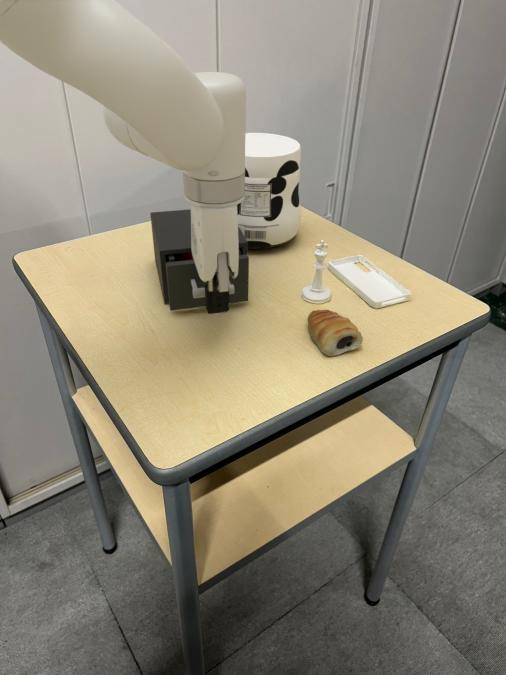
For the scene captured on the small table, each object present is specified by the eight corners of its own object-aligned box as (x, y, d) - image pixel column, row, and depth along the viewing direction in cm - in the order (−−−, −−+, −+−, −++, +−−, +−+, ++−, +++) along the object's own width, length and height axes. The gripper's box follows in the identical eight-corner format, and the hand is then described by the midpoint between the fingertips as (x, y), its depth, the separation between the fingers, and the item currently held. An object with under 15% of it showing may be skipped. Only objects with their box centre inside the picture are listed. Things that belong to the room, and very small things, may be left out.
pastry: (295, 324, 79) (297, 303, 77) (334, 315, 81) (337, 295, 79) (325, 360, 72) (328, 338, 70) (366, 350, 74) (371, 328, 72)
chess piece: (335, 302, 85) (342, 246, 79) (306, 305, 84) (312, 249, 78) (325, 286, 88) (331, 232, 82) (297, 289, 87) (302, 235, 81)
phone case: (326, 267, 94) (374, 309, 83) (326, 260, 93) (375, 302, 82) (360, 260, 96) (411, 300, 85) (361, 253, 96) (412, 293, 85)
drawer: (255, 316, 79) (256, 271, 75) (174, 326, 77) (170, 280, 72) (230, 261, 93) (229, 221, 88) (160, 269, 90) (156, 227, 86)
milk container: (265, 212, 113) (268, 126, 103) (317, 241, 102) (327, 148, 92) (197, 230, 105) (192, 139, 94) (245, 264, 94) (246, 165, 83)
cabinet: (246, 295, 86) (247, 242, 80) (164, 304, 83) (159, 250, 77) (228, 254, 97) (227, 206, 91) (155, 262, 94) (150, 212, 88)
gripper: (176, 167, 69) (184, 286, 80) (193, 211, 57) (200, 343, 68) (231, 164, 70) (231, 281, 81) (259, 206, 59) (255, 336, 70)
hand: (217, 309), depth 75 cm, fingers closed
